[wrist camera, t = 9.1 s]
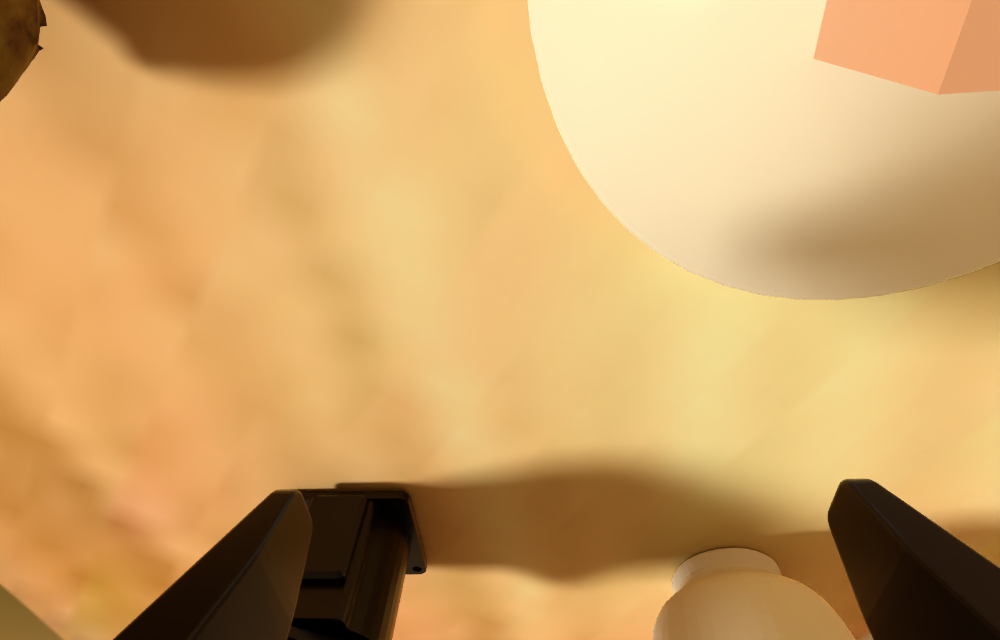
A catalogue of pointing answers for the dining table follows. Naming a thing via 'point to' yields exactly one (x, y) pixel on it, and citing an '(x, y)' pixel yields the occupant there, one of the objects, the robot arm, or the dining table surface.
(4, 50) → the potato
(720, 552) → the teacup
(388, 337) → the dining table surface
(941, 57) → the block
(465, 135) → the dining table surface
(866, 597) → the robot arm
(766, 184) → the plate
